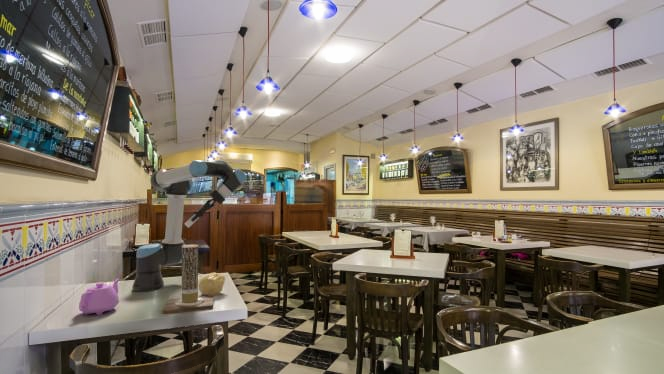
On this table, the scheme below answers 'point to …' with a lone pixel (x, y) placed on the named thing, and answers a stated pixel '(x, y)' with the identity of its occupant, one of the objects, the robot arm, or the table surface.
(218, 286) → the sculpture
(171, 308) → the walnut board
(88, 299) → the teapot
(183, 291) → the paper tube
